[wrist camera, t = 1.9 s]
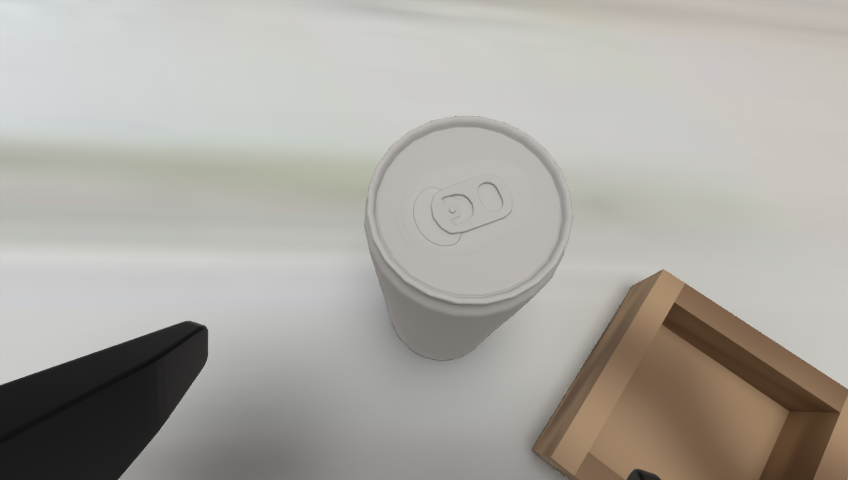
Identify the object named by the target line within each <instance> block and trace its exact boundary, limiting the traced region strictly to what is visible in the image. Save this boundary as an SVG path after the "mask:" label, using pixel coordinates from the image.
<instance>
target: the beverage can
mask: <svg viewBox="0 0 848 480" xmlns="http://www.w3.org/2000/svg"><path fill="white" fill-rule="evenodd" d="M572 219H573V215H572V205H571V196H570V191H569V189H568V186H567V184H566V181H565V179H564V176H563V173H562V171H561V169H560V168H559V166H558V165H557V164H556V162H555V161H554V160H553V158H552V157H551V155H550V154H549V153H548V151H547V150H546V149H545V148H544V147H542V146H541V145H540V144H539V143H538V142H536V141H535V140H534V139H533V138H532V137H530V136H529V135H528V134H527V133H525V132H523V131H521V130H519V129H517V128H515V127H513V126H511V125H509V124H507V123H504V122H500V121H496V120H492V119H488V118H484V117H477V116H454V117H449V118H444V119H439V120H434V121H430V122H428V123H426V124H424V125H422V126H420V127H418V128H415V129H413V130H411V131H409V132H408V133H407V134H406V135H404V136H403V137H402V138H401V139H399V140H398V141H397V142H396V143H395V144H393V145H392V146H391V147H390V148H389V150H388V151H387V152H386V154H385V155H384V157H383V158H382V159H381V161H380V162H379V164H378V165H377V167H376V169H375V172H374V175H373V178H372V180H371V183H370V186H369V188H368V197H367V200H366V209H365V224H364V226H365V231H366V236H367V241H368V245H369V250H370V254H371V257H372V260H373V263H374V267H375V270H376V273H377V276H378V279H379V283H380V286H381V289H382V292H383V295H384V298H385V302H386V305H387V308H388V311H389V314H390V318H391V321H392V324H393V326H394V328H395V330H396V332H397V334H398V336H399V338H400V339H401V340H402V341H403V342H404V343H405V344H406V345H407V346H408V347H409V348H410V349H411V350H413V351H415V352H416V353H418V354H419V355H421V356H424V357H427V358H431V359H434V360H451V359H455V358H459V357H462V356H464V355H466V354H467V353H469V352H470V351H472V350H473V349H474V348H476V347H477V346H478V345H479V344H480V343H481V342H482V341H483V340H484V339H485V338H486V337H487V336H489V335H490V334H491V333H492V332H493V331H494V330H495V329H497V328H498V327H499V326H500V325H502V324H503V323H504V322H505V321H506V320H508V319H509V318H510V317H511V316H513V315H514V314H515V313H516V312H517V311H518V310H520V309H521V308H522V307H523V306H524V305H525V304H526V303H527V302H528V301H530V300H531V299H532V298H533V297H534V296H535V295H536V294H537V293H538V292H539V291H540V290H541V289H542V288H543V287H544V285H545V284H546V283H547V282H548V281H549V280H550V279H551V278H552V276H553V274H554V272H555V270H556V268H557V267H558V265H559V263H560V261H561V259H562V257H563V255H564V251H565V247H566V245H567V243H568V240H569V235H570V230H571V224H572Z"/></svg>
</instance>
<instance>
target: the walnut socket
mask: <svg viewBox="0 0 848 480" xmlns="http://www.w3.org/2000/svg"><path fill="white" fill-rule="evenodd" d="M532 450H533V451H534V452H535V453H537V454H538V455H539V456H541V457H542V458H543V459H544V460H546V461H547V462H548V463H549V464H551V465H552V466H553V467H555V468H556V469H557V470H558V471H560V472H561V473H562V474H563V475H565V476H566V477H567V478H568V479H570V480H626V479H627V477H628V476H629V474H630V473H631V472H632V470H634V469H641V470H644V471H647V472H650V473H653V474H656V475H657V476H658V477H659V478H660V479H661V480H847V479H848V389H847V388H845V387H843V386H842V385H840V384H839V383H837V382H836V381H834V380H833V379H831V378H830V377H828V376H827V375H825V374H824V373H822V372H820V371H819V370H817V369H816V368H814V367H813V366H811V365H810V364H808V363H807V362H805V361H804V360H802V359H800V358H799V357H797V356H796V355H794V354H793V353H791V352H790V351H788V350H787V349H785V348H784V347H782V346H781V345H779V344H777V343H776V342H774V341H773V340H771V339H770V338H768V337H767V336H765V335H764V334H762V333H761V332H759V331H758V330H756V329H754V328H753V327H751V326H750V325H748V324H747V323H745V322H744V321H742V320H741V319H739V318H738V317H736V316H735V315H733V314H731V313H730V312H728V311H727V310H725V309H724V308H722V307H721V306H719V305H718V304H716V303H715V302H713V301H711V300H710V299H708V298H707V297H705V296H704V295H702V294H701V293H699V292H698V291H696V290H695V289H693V288H692V287H690V286H688V285H687V284H685V283H684V282H682V281H681V280H679V279H678V278H676V277H675V276H673V275H672V274H670V273H669V272H667V271H665V270H664V269H663V270H661V271H659V272H657V273H656V274H654V275H652V276H650V277H648V278H646V279H644V280H643V281H641V282H639V283H637V284H635V285H633V286H632V288H631V289H630V291H629V292H628V294H627V296H626V297H625V299H624V301H623V302H622V304H621V305H620V307H619V309H618V310H617V312H616V314H615V315H614V317H613V318H612V320H611V322H610V323H609V325H608V327H607V328H606V330H605V331H604V333H603V335H602V336H601V338H600V340H599V341H598V343H597V344H596V346H595V348H594V349H593V351H592V353H591V354H590V356H589V357H588V359H587V361H586V362H585V364H584V366H583V367H582V369H581V370H580V372H579V374H578V375H577V377H576V379H575V380H574V382H573V383H572V385H571V387H570V388H569V390H568V392H567V393H566V395H565V396H564V398H563V400H562V401H561V403H560V405H559V406H558V408H557V409H556V411H555V413H554V414H553V416H552V418H551V419H550V421H549V422H548V424H547V426H546V427H545V429H544V431H543V432H542V434H541V435H540V437H539V439H538V440H537V442H536V444H535V445H534V447H533V448H532Z"/></svg>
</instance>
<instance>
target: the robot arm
mask: <svg viewBox="0 0 848 480" xmlns="http://www.w3.org/2000/svg"><path fill="white" fill-rule="evenodd" d="M207 357H208V329H207V327H206V326H204V325H201V324H198V323H195V322H192V321H185V322H182V323H179V324H176V325H173V326H170V327H167V328H164V329H161V330H158V331H156V332H153V333H150V334H147V335H144V336H141V337H138V338H135V339H132V340H130V341H127V342H124V343H121V344H118V345H115V346H112V347H109V348H106V349H104V350H101V351H98V352H95V353H92V354H89V355H86V356H83V357H80V358H78V359H75V360H72V361H69V362H66V363H63V364H60V365H57V366H54V367H51V368H49V369H46V370H43V371H40V372H37V373H34V374H31V375H28V376H25V377H23V378H20V379H17V380H14V381H11V382H8V383H5V384H2V385H0V480H118V479H119V478H120V476H121V475H122V474H123V473H124V472H125V471H126V469H127V468H128V467H129V466H130V465H131V464H132V462H133V461H134V460H135V459H136V458H137V456H138V455H139V454H140V453H141V452H142V451H143V449H144V448H145V447H146V446H147V445H148V443H149V442H150V441H151V440H152V439H153V437H154V436H155V435H156V434H157V433H158V431H159V430H160V429H161V427H162V426H163V425H164V423H165V422H166V421H167V419H168V418H169V416H170V415H171V413H172V412H173V410H174V409H175V408H176V406H177V405H178V403H179V402H180V400H181V399H182V397H183V396H184V395H185V393H186V392H187V390H188V389H189V387H190V386H191V384H192V383H193V382H194V380H195V379H196V377H197V376H198V374H199V373H200V371H201V370H202V369H203V367H204V365H205V363H206V361H207ZM626 480H661V479H660V478H659V477H658V476H657V475H656V474H653V473H650V472H647V471H644V470H641V469H634V470H632V472H631V473H630V474H629V476H628V477H627V479H626Z"/></svg>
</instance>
